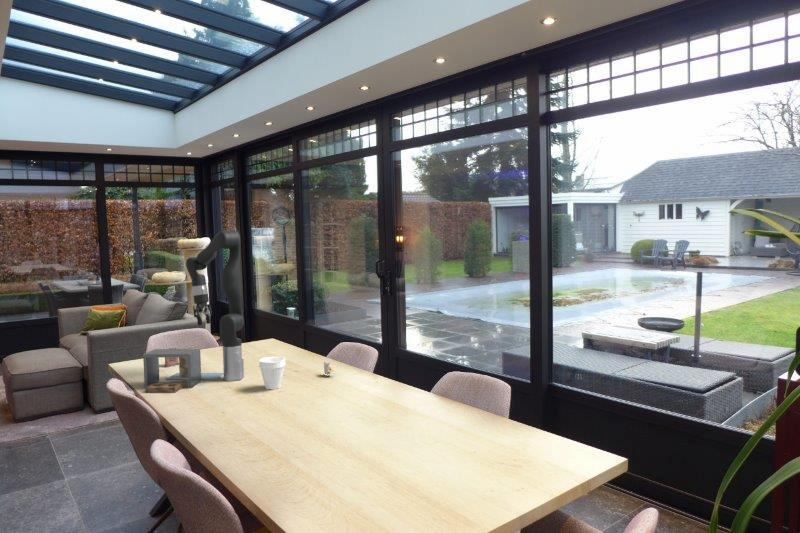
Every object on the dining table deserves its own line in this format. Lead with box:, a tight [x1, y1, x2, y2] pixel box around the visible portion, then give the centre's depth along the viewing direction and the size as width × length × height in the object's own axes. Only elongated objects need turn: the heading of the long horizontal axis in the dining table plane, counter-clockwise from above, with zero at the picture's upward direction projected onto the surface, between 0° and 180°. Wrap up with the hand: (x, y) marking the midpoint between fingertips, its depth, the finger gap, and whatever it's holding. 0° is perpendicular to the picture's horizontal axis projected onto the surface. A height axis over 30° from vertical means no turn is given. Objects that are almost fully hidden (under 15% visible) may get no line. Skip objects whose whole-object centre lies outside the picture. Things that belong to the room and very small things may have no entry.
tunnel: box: [142, 348, 202, 389], centre depth 276 cm, size 23×12×16 cm, turn 87°
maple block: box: [178, 357, 188, 378], centre depth 290 cm, size 4×4×11 cm
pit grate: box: [145, 382, 183, 394], centre depth 266 cm, size 14×7×2 cm, turn 87°
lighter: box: [164, 347, 179, 368], centre depth 316 cm, size 8×3×10 cm, turn 143°
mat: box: [165, 372, 224, 381], centre depth 291 cm, size 26×12×1 cm, turn 87°
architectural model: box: [323, 361, 336, 376], centre depth 289 cm, size 3×7×7 cm, turn 28°
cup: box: [258, 356, 286, 390], centre depth 268 cm, size 12×12×14 cm
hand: (204, 324), depth 300 cm, fingers open, 8 cm apart
